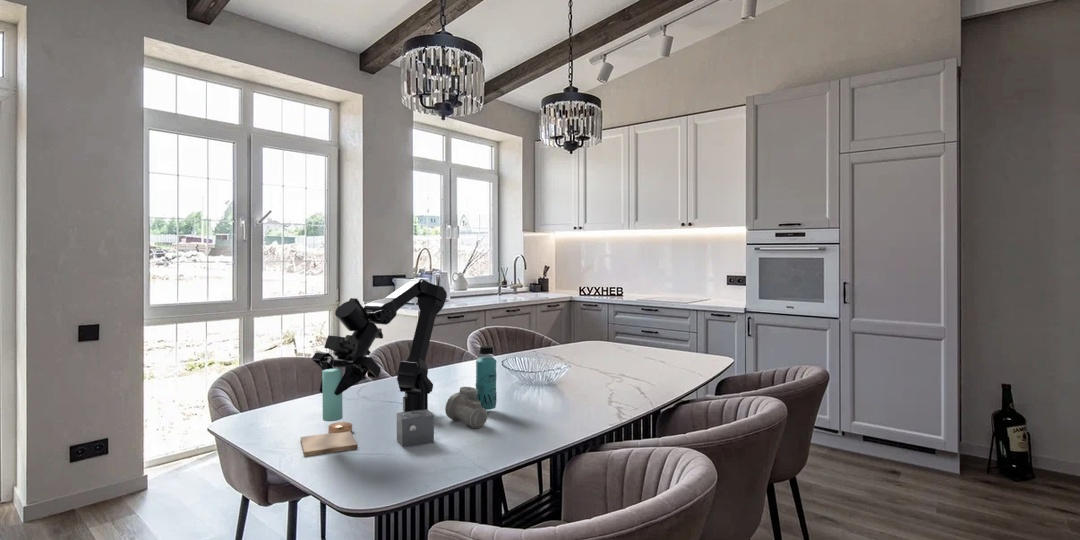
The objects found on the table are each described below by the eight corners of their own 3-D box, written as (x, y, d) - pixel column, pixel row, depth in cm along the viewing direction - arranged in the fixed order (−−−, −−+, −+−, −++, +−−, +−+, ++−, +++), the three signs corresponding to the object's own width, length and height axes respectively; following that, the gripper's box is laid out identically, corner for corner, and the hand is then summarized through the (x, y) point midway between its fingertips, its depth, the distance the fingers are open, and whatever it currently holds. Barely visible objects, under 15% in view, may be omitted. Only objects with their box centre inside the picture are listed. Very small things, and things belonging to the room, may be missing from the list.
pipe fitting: (442, 420, 159) (447, 385, 158) (465, 417, 164) (470, 383, 163) (465, 435, 150) (470, 398, 149) (489, 431, 155) (494, 395, 154)
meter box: (427, 435, 146) (427, 408, 146) (434, 443, 140) (434, 415, 140) (396, 439, 143) (396, 412, 143) (402, 448, 137) (402, 420, 136)
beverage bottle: (471, 413, 167) (471, 347, 166) (481, 408, 173) (481, 343, 172) (490, 416, 164) (490, 348, 164) (500, 410, 171) (500, 345, 170)
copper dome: (348, 428, 153) (348, 420, 153) (354, 434, 148) (355, 426, 148) (325, 431, 150) (326, 424, 149) (331, 438, 145) (331, 430, 144)
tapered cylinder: (344, 415, 140) (344, 368, 140) (339, 421, 136) (339, 372, 135) (325, 416, 140) (325, 368, 140) (320, 421, 135) (319, 372, 135)
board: (349, 434, 147) (349, 430, 147) (357, 448, 136) (357, 444, 136) (300, 441, 141) (300, 437, 141) (304, 456, 131) (304, 452, 131)
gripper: (316, 320, 145) (281, 371, 135) (372, 325, 137) (339, 378, 127) (339, 346, 152) (307, 395, 143) (393, 351, 144) (363, 404, 135)
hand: (328, 393), depth 136 cm, fingers closed on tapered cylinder, 5 cm apart
